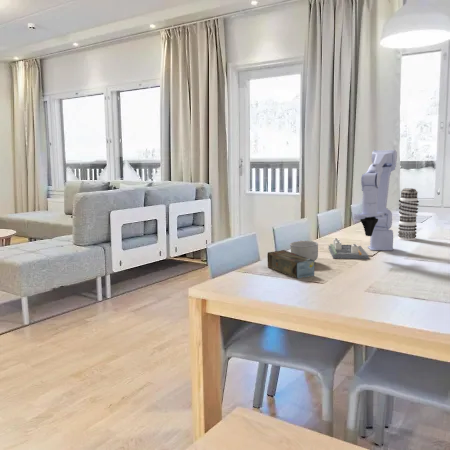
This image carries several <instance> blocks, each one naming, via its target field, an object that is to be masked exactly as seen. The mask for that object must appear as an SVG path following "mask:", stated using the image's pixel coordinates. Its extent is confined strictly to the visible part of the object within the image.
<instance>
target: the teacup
mask: <svg viewBox="0 0 450 450" xmlns="http://www.w3.org/2000/svg"><path fill="white" fill-rule="evenodd" d="M289 246H290V252H291V253H294V254H297V255H300V256H303V257H306V258H309V259H312V260H314V262H315V261H317V259H318V258H319V257H318V256H319V242H317V241H314V240H297V241H293V242H291V243H290V244H289Z"/></svg>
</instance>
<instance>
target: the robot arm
mask: <svg viewBox="0 0 450 450" xmlns="http://www.w3.org/2000/svg"><path fill="white" fill-rule="evenodd" d="M397 158H398V152H397V150H396V149H379V150H378V149H374V150H372V152H371V162H372V163H371V164H370V165H369V166H368V169H367V170H366V172H365V173H363V174H362V175H361V179H360V181H361V183H360V184H361V191H362V205H361V206H362V208H361V212H360V213H357V214H354V217H353V218H354V220H356V221H357V220H359V221H360V222H361V224H362V227H363V230H364V234H365V237H370V241H369V242H370V244H369V245H368V246H367V248H368V249H369V250H370V251H394V232H393V230H392V229H391V228H392V227H393V213H392V211H391V210H390V209H389V208H387V205H388V197H389V187H390V181H391V180H390V177H391V175H392V172H393V171H395V170H396V167H397Z"/></svg>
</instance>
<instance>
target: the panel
mask: <svg viewBox="0 0 450 450" xmlns="http://www.w3.org/2000/svg"><path fill="white" fill-rule="evenodd" d="M358 246H359V249H358V253H351V244H341V250H335V247H333V243H330V245H328V247H327V248H328V250H329V253H330V255H331V257H332V259H341V260H342V259H343V260H345V259H348V260H349V259H350V260H369V254H368V253H367V251H365V249H364V248H363V247H362V246H361V245H358Z"/></svg>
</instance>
